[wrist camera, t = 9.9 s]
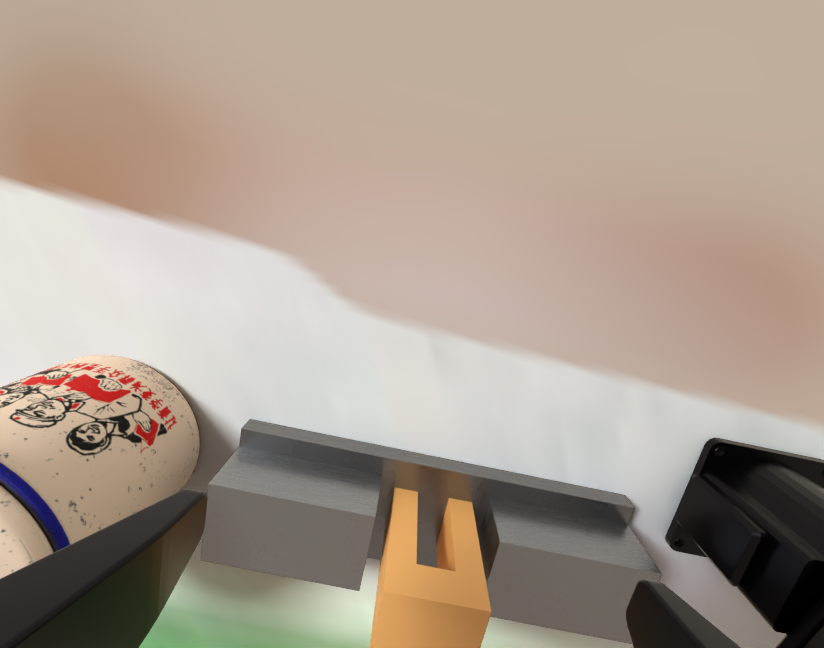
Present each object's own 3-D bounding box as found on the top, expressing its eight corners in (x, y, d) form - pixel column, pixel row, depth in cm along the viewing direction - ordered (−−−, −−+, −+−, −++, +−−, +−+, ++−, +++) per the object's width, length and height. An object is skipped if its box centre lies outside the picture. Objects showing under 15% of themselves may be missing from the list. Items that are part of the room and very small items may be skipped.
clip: (471, 502, 21) (491, 611, 15) (458, 550, 21) (472, 673, 15) (394, 487, 20) (383, 591, 15) (383, 536, 21) (368, 654, 15)
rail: (625, 495, 21) (669, 555, 17) (589, 585, 23) (623, 660, 19) (249, 419, 21) (210, 463, 17) (237, 516, 22) (198, 577, 18)
